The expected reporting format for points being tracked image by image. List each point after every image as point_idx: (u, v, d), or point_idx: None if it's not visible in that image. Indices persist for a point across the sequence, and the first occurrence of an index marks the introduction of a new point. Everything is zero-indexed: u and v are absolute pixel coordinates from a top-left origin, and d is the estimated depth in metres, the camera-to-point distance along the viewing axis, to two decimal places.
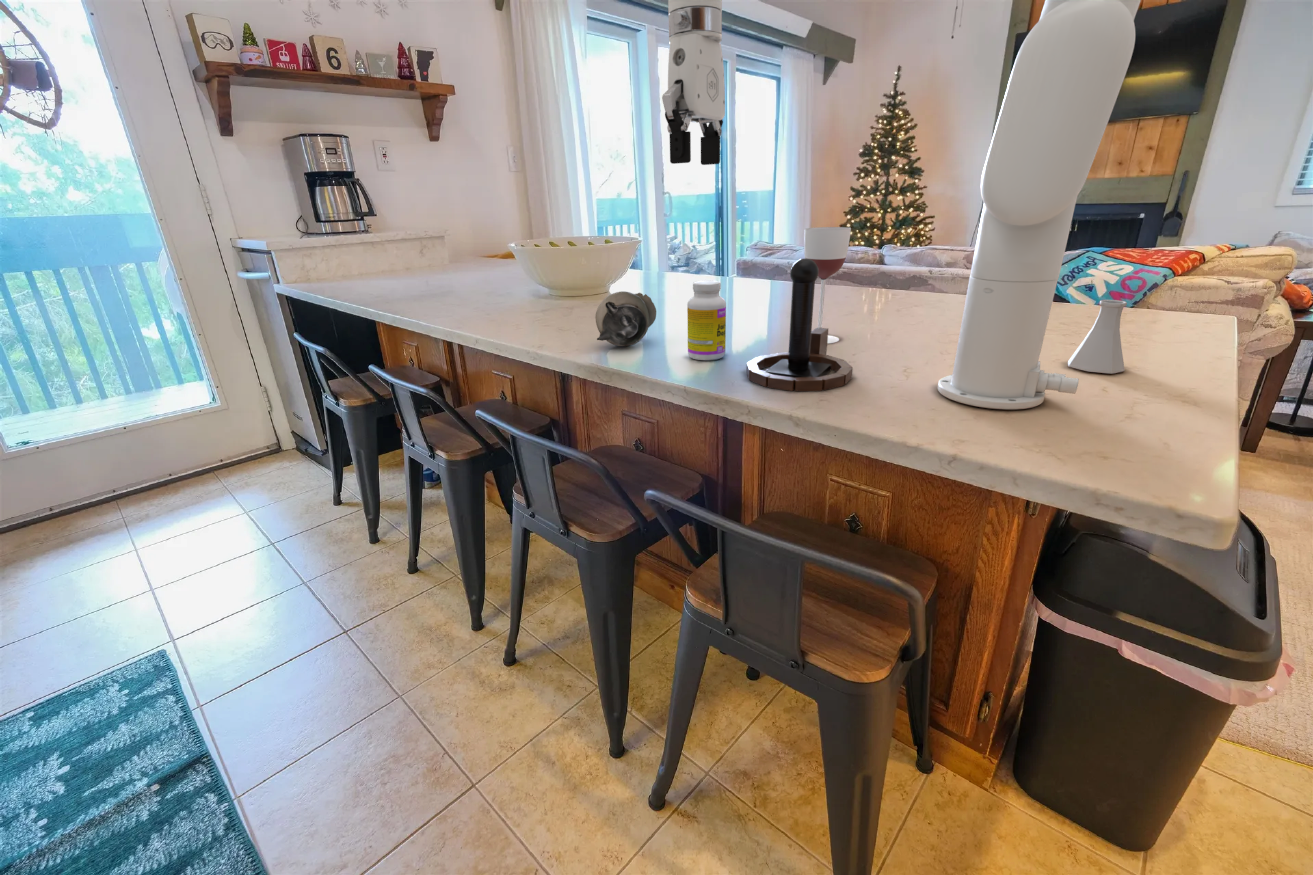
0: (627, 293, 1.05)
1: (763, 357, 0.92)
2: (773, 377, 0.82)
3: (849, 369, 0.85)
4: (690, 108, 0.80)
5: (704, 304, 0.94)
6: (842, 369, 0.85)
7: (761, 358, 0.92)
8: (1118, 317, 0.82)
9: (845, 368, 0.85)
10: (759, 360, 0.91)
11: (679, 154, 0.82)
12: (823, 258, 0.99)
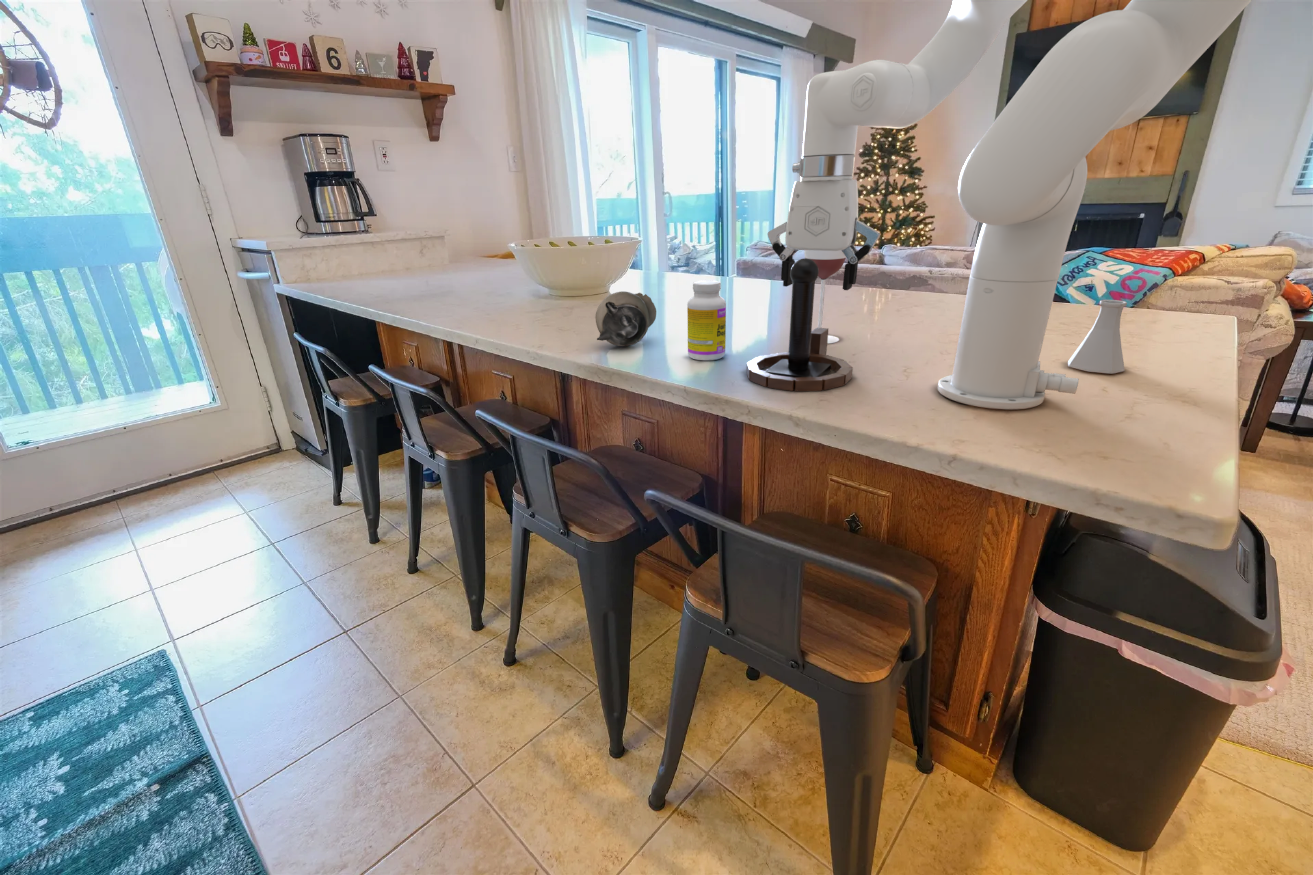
0: (627, 293, 1.05)
1: (763, 357, 0.92)
2: (773, 377, 0.82)
3: (849, 369, 0.85)
4: None
5: (704, 304, 0.94)
6: (842, 369, 0.85)
7: (761, 358, 0.92)
8: (1118, 317, 0.82)
9: (845, 368, 0.85)
10: (759, 360, 0.91)
11: None
12: (823, 258, 0.99)
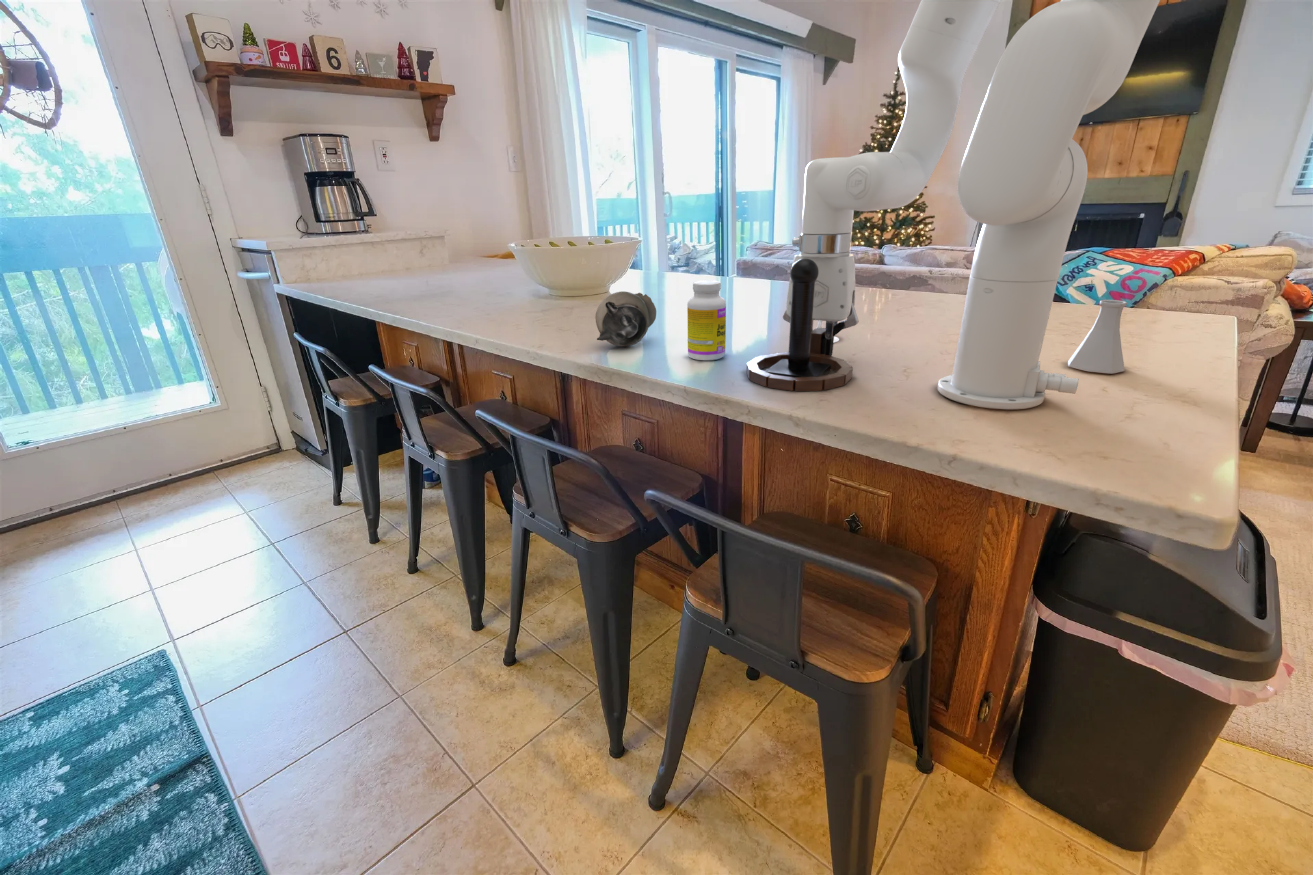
0: (627, 293, 1.05)
1: (763, 357, 0.92)
2: (773, 377, 0.82)
3: (849, 369, 0.85)
4: None
5: (704, 304, 0.94)
6: (842, 369, 0.85)
7: (761, 358, 0.92)
8: (1118, 317, 0.82)
9: (845, 368, 0.85)
10: (759, 360, 0.91)
11: None
12: None
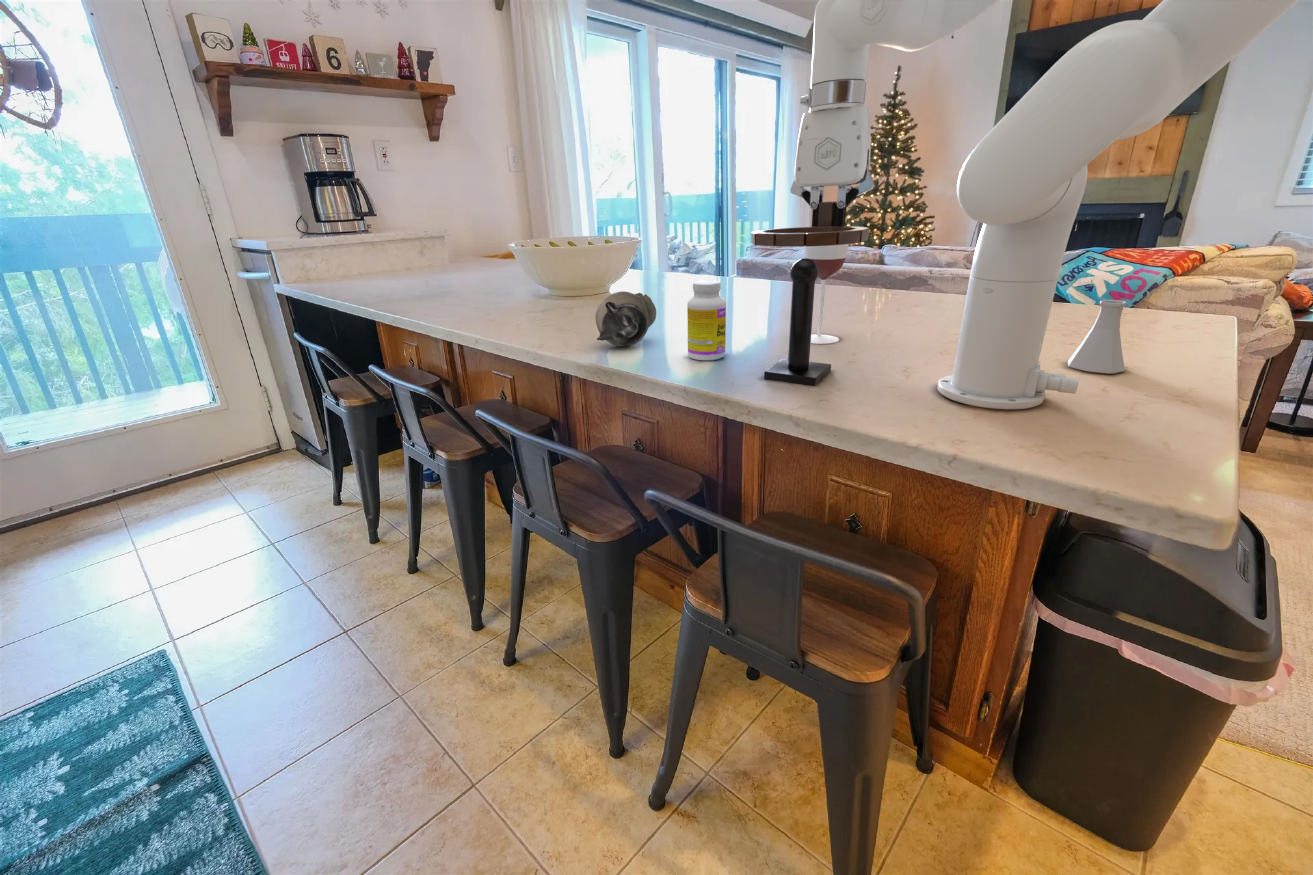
0: (627, 293, 1.05)
1: (769, 229, 0.84)
2: (781, 233, 0.74)
3: (865, 228, 0.77)
4: None
5: (704, 304, 0.94)
6: None
7: None
8: (1118, 317, 0.82)
9: (861, 228, 0.77)
10: (765, 230, 0.83)
11: None
12: (823, 258, 0.99)
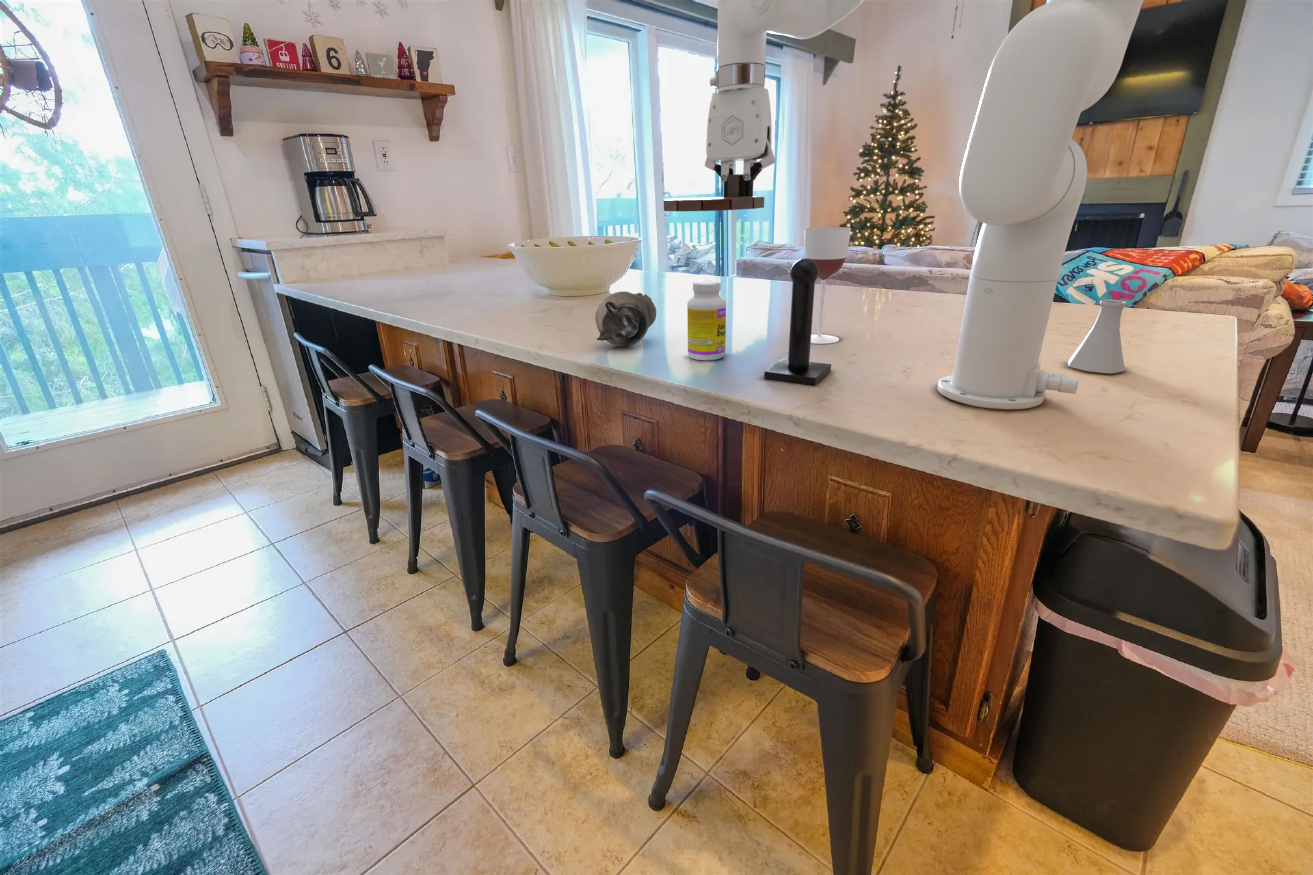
0: (627, 293, 1.05)
1: None
2: (683, 199, 0.84)
3: (760, 196, 0.86)
4: None
5: (704, 304, 0.94)
6: None
7: None
8: (1118, 317, 0.82)
9: None
10: (677, 199, 0.92)
11: None
12: (823, 258, 0.99)
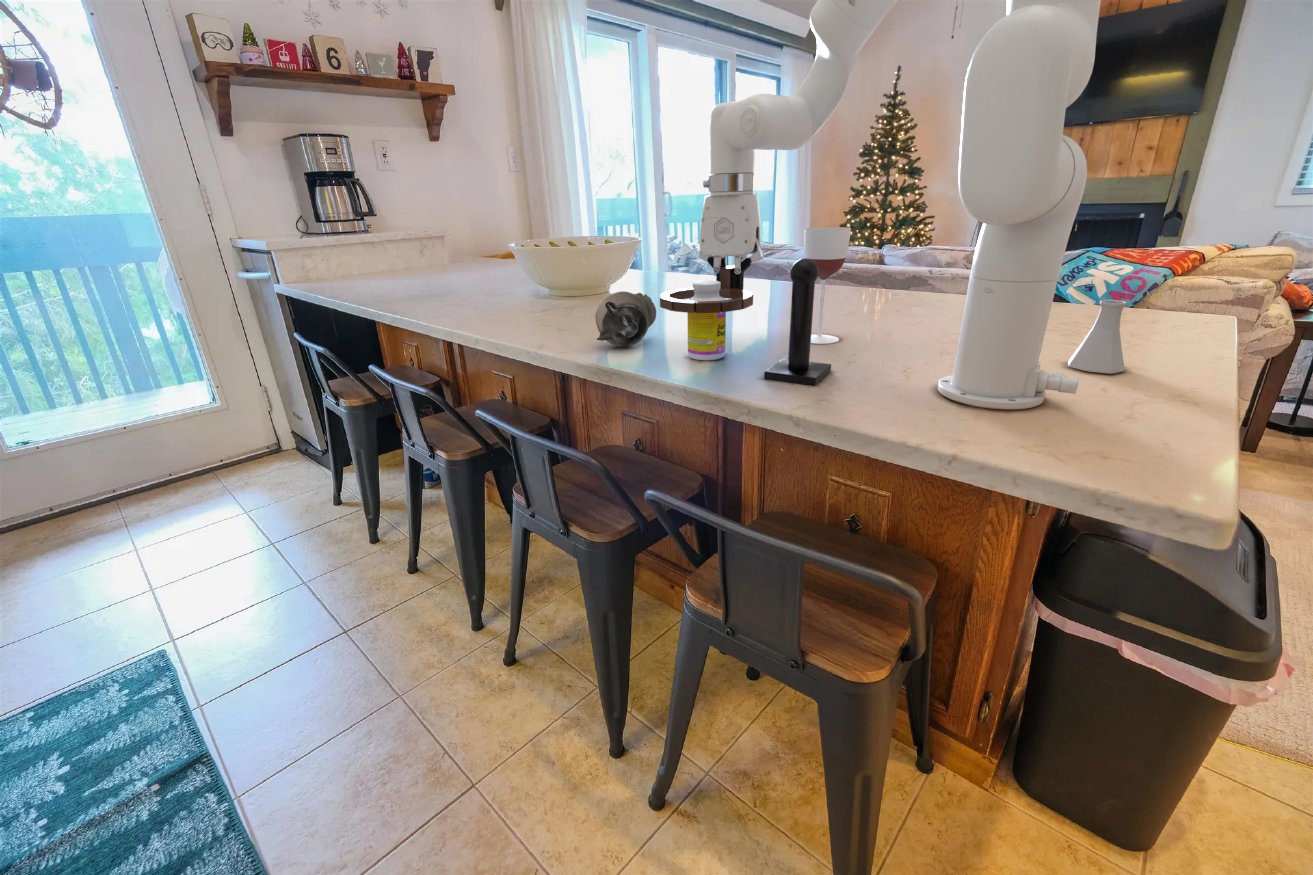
0: (627, 293, 1.05)
1: (678, 290, 1.01)
2: (678, 301, 0.91)
3: (749, 296, 0.93)
4: None
5: None
6: (743, 296, 0.93)
7: (676, 291, 1.00)
8: (1118, 317, 0.82)
9: (746, 295, 0.94)
10: (673, 292, 0.99)
11: None
12: (823, 258, 0.99)
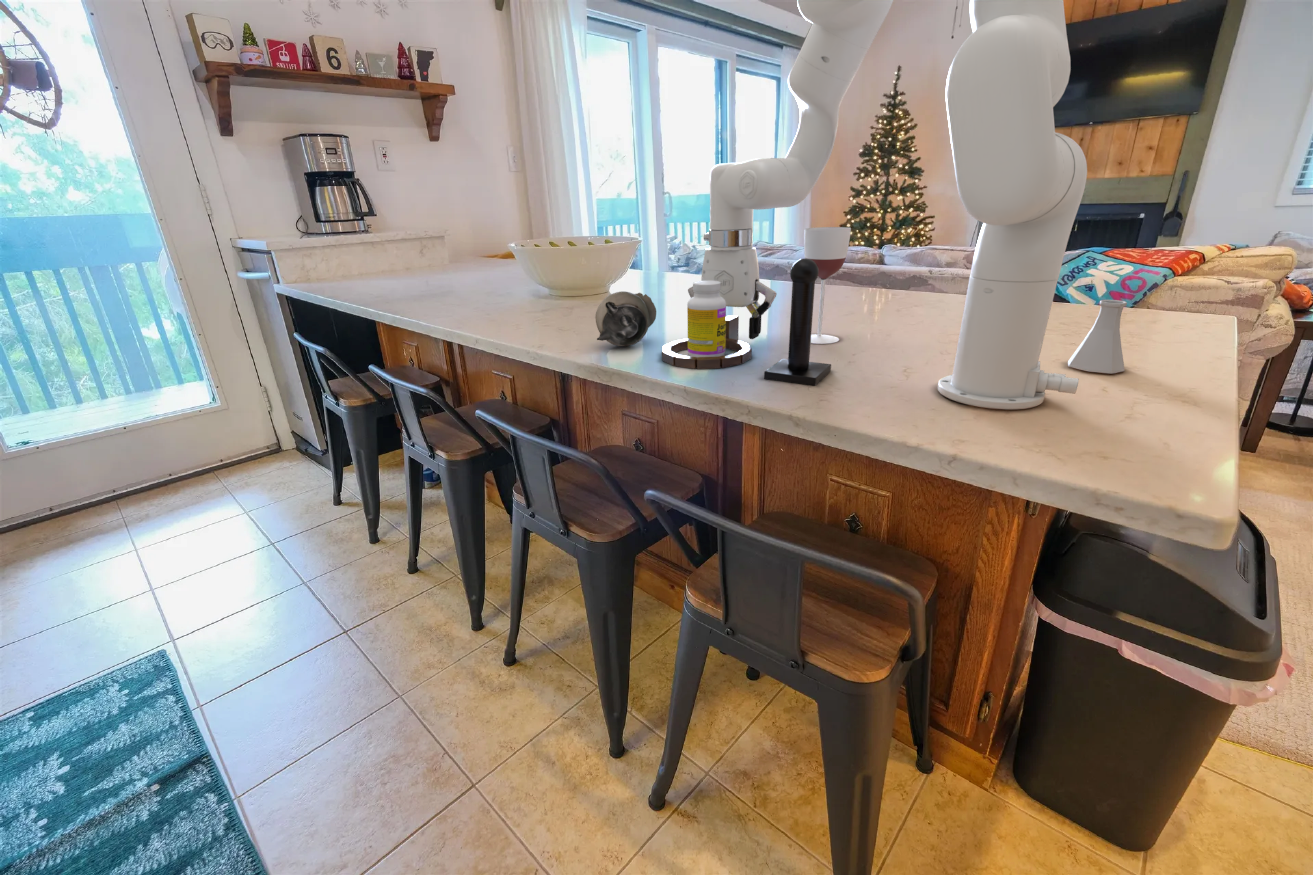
0: (627, 293, 1.05)
1: (679, 341, 1.05)
2: (679, 357, 0.95)
3: (747, 350, 0.97)
4: None
5: (704, 304, 0.94)
6: (741, 350, 0.97)
7: (677, 342, 1.04)
8: (1118, 317, 0.82)
9: (744, 349, 0.97)
10: (674, 343, 1.03)
11: None
12: (823, 258, 0.99)
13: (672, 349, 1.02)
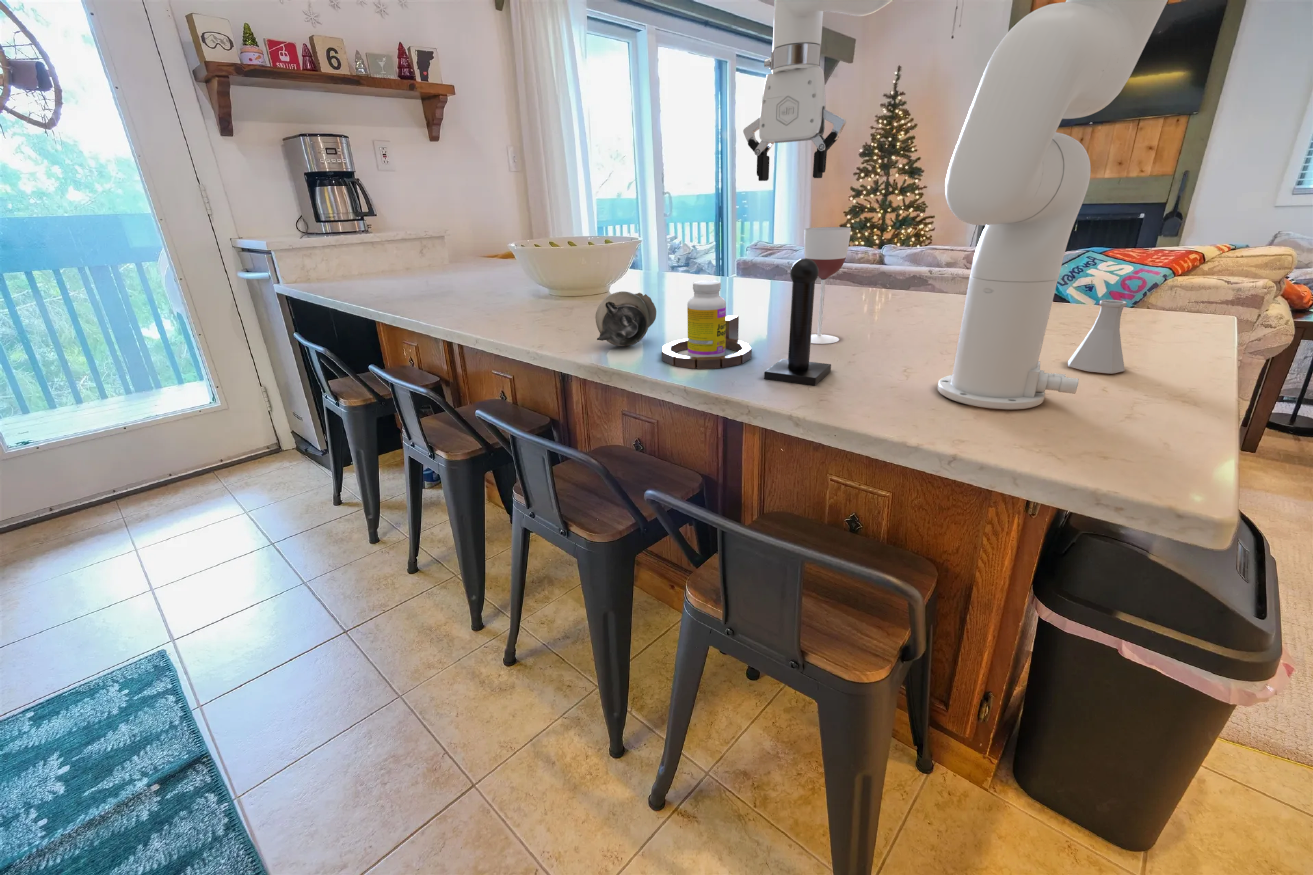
0: (627, 293, 1.05)
1: (679, 341, 1.05)
2: (679, 357, 0.95)
3: (747, 350, 0.97)
4: (760, 136, 0.96)
5: (704, 304, 0.94)
6: (741, 350, 0.97)
7: (677, 342, 1.04)
8: (1118, 317, 0.82)
9: (744, 349, 0.97)
10: (674, 343, 1.03)
11: (757, 174, 1.00)
12: (823, 258, 0.99)
13: (672, 349, 1.02)
